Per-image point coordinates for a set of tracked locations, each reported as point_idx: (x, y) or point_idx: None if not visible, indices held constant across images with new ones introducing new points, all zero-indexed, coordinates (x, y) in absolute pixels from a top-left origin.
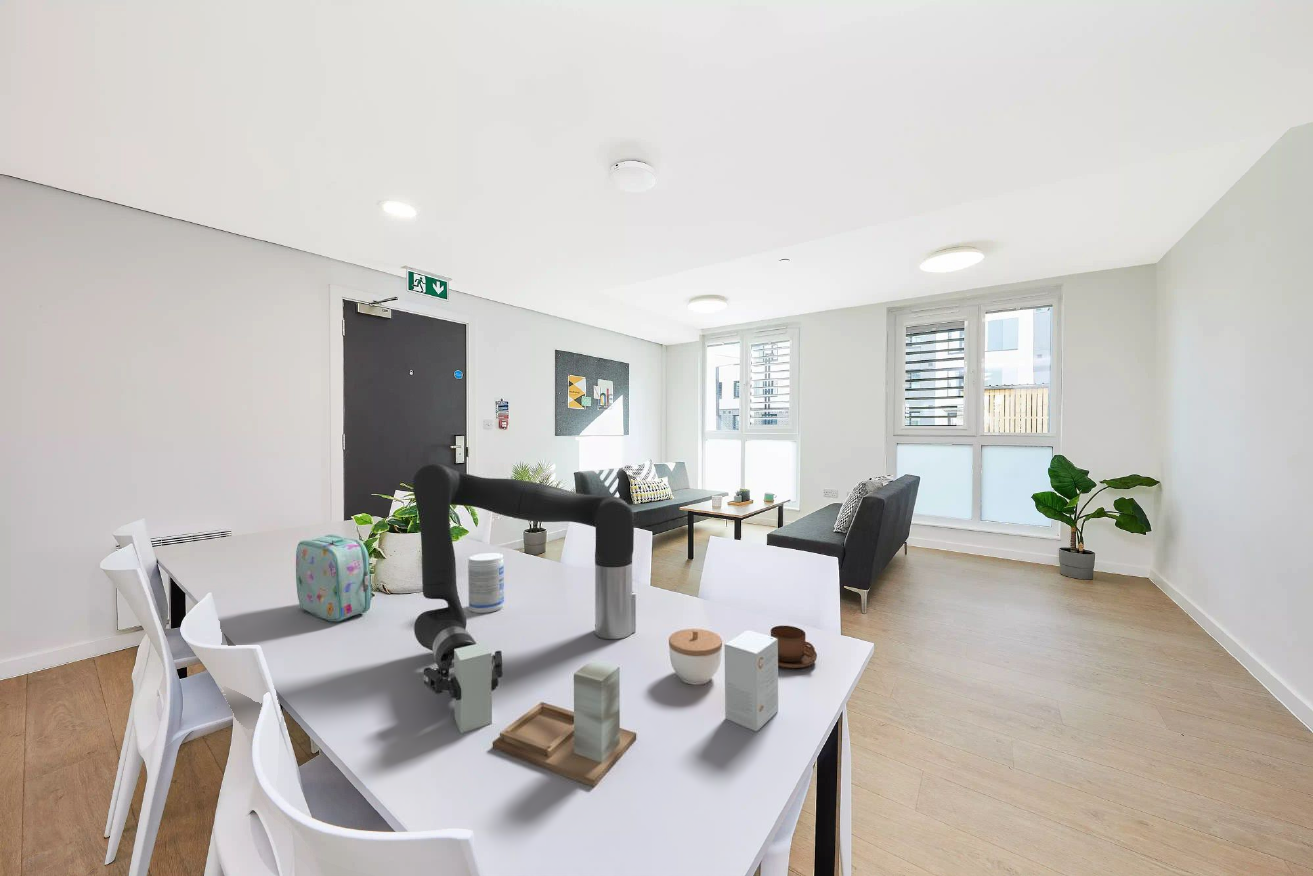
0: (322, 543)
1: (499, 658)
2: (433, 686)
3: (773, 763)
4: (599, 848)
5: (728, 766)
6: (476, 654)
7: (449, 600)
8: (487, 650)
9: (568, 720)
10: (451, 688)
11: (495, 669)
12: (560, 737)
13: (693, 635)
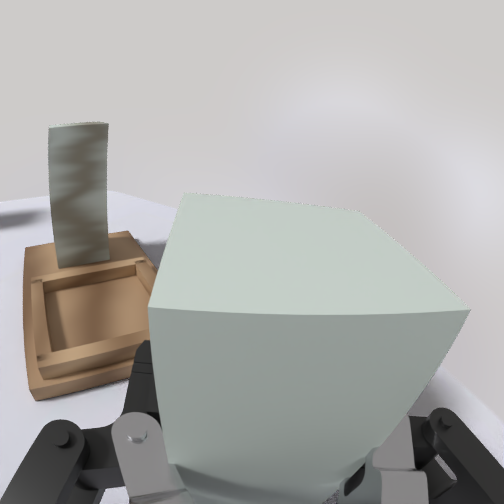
0: None
1: (24, 492)
2: (444, 485)
3: (10, 205)
4: (172, 214)
5: (28, 213)
6: (274, 207)
7: None
8: (194, 206)
9: (47, 310)
10: None
11: (107, 428)
12: (108, 266)
13: None
